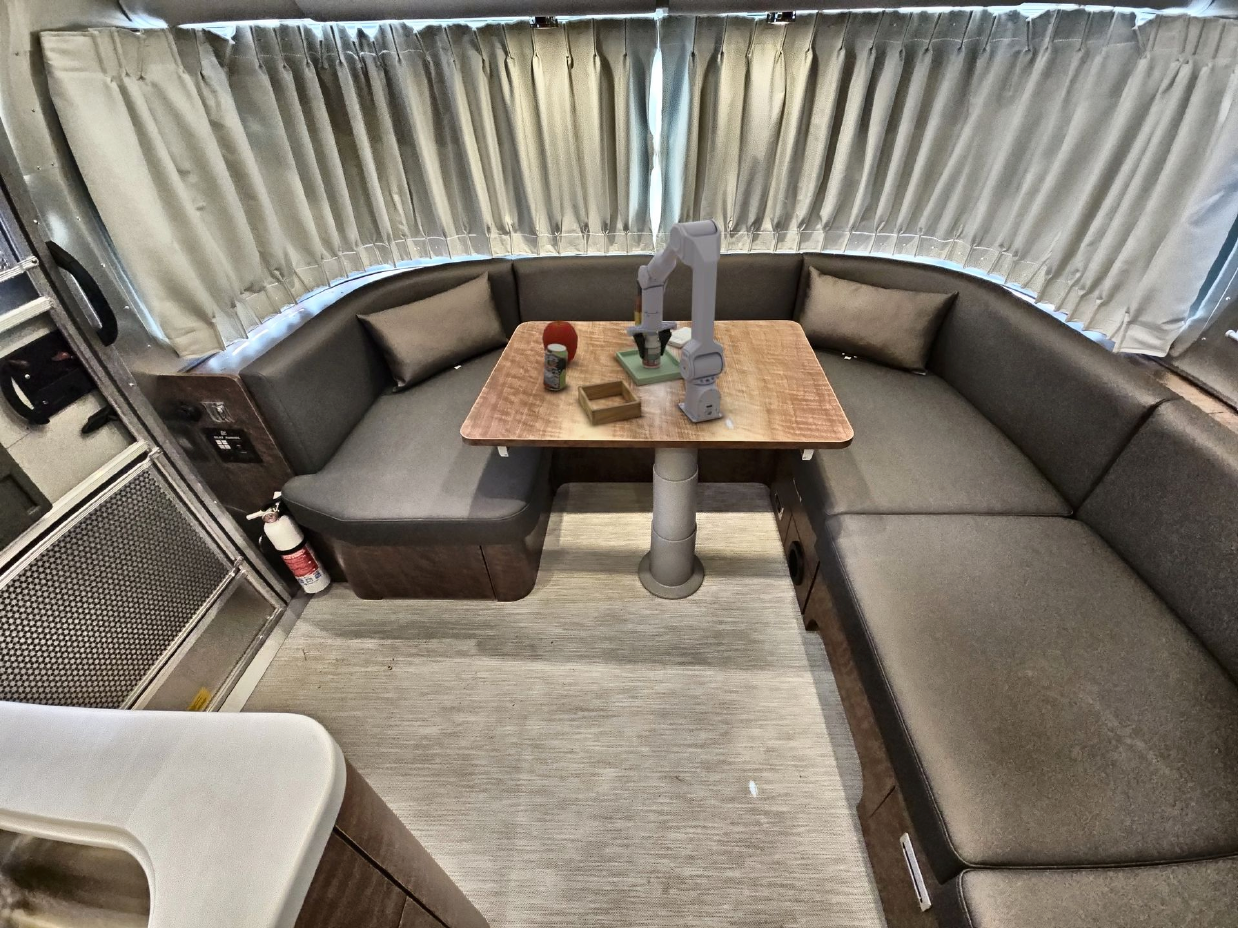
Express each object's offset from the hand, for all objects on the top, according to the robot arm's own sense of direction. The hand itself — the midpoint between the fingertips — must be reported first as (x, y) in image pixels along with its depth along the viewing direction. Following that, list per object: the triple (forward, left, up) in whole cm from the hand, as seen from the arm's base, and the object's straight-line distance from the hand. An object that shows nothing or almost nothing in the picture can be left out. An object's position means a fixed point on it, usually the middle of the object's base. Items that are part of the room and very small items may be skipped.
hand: (651, 356), depth 154 cm
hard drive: (+16, -17, -4) cm, 24 cm away
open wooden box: (-19, +19, -3) cm, 27 cm away
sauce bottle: (+19, -5, -4) cm, 20 cm away
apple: (+12, +24, -4) cm, 27 cm away
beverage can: (-3, +29, -4) cm, 29 cm away
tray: (0, 0, -3) cm, 3 cm away
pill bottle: (0, 0, -3) cm, 3 cm away
